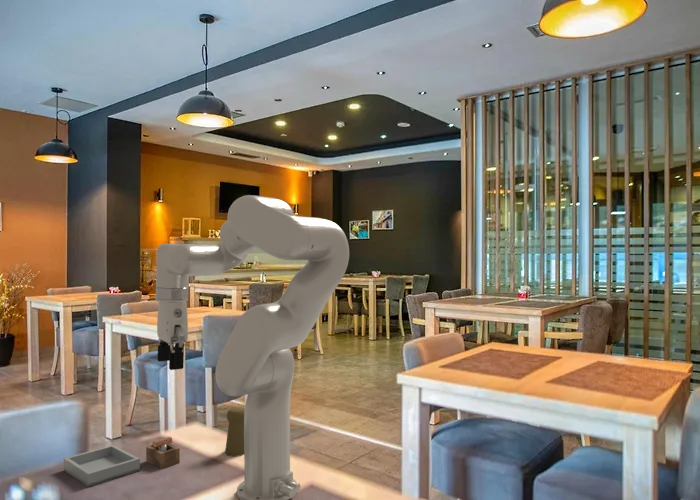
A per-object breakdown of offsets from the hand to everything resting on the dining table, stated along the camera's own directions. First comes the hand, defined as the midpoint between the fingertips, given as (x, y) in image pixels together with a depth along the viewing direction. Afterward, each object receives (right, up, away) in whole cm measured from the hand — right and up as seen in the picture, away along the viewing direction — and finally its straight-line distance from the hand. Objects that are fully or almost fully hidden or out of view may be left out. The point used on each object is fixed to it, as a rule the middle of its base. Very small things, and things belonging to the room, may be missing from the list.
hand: (170, 364), depth 129 cm
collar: (-2, -23, -1) cm, 23 cm away
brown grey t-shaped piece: (-2, -23, -1) cm, 23 cm away
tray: (-14, -23, -6) cm, 28 cm away
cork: (+15, -24, +6) cm, 29 cm away
